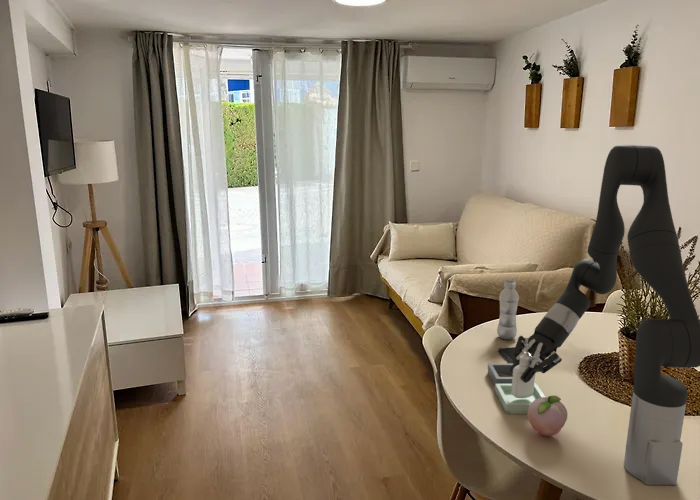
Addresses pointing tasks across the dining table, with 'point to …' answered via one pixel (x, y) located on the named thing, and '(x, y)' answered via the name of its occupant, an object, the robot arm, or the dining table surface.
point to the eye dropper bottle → (518, 386)
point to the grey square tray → (500, 373)
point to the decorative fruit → (547, 415)
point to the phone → (509, 354)
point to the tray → (515, 399)
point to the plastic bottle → (508, 311)
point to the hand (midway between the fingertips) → (517, 377)
